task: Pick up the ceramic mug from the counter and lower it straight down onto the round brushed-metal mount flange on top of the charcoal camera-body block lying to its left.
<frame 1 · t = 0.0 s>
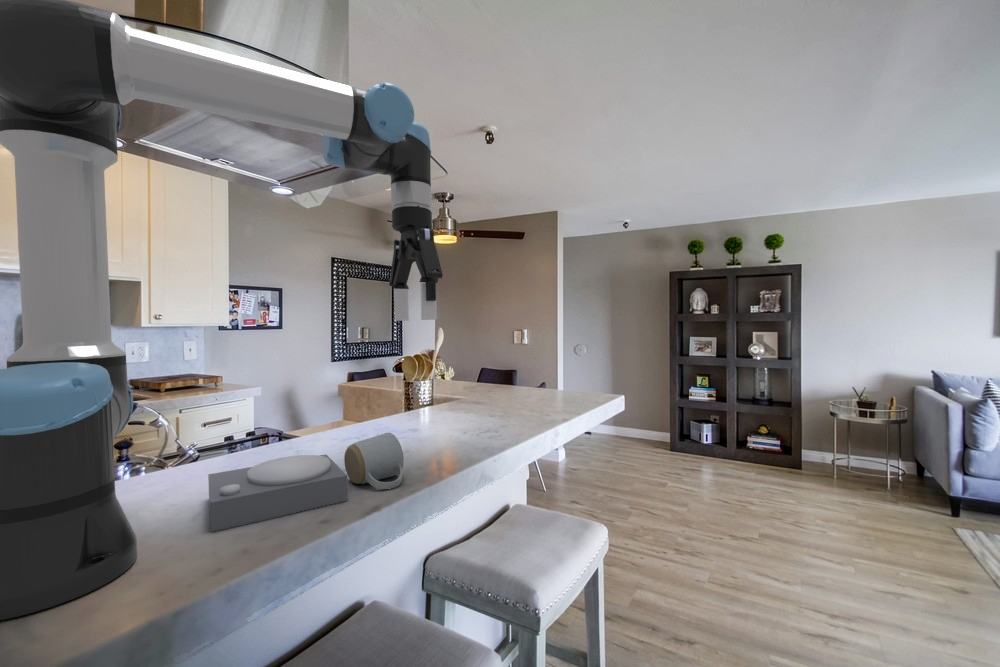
hand: (414, 320, 87), 28 cm above the worktop, tool pointing down, fingers open, 13 cm apart
camera body: (277, 500, 71), on the worktop
ceramic mug: (379, 482, 79), on the worktop
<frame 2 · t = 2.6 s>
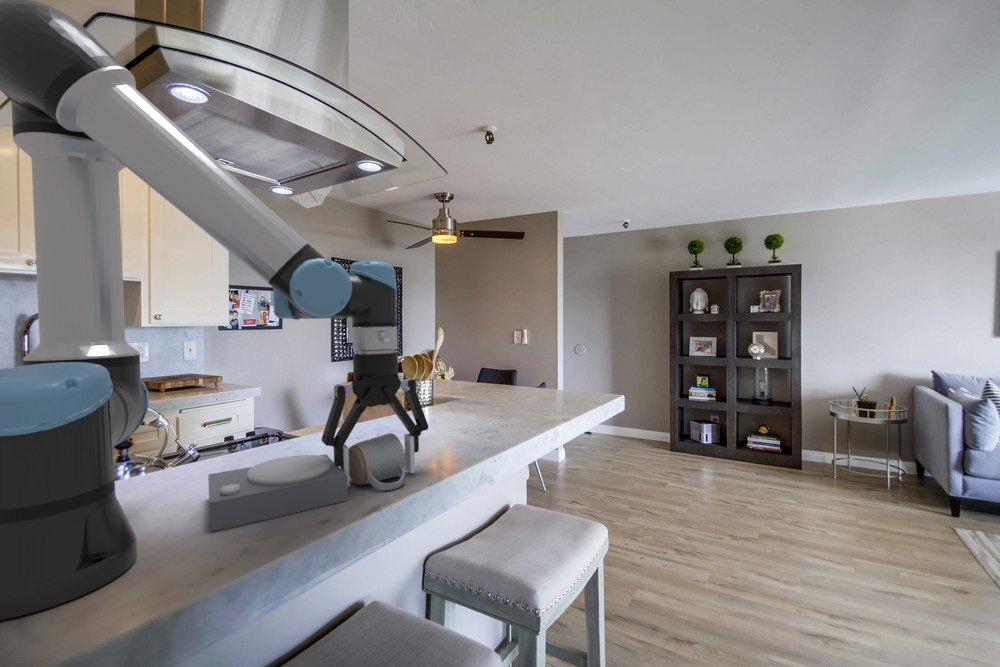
hand: (378, 477, 79), 1 cm above the worktop, tool pointing down, fingers open, 11 cm apart
nothing on the worktop moved.
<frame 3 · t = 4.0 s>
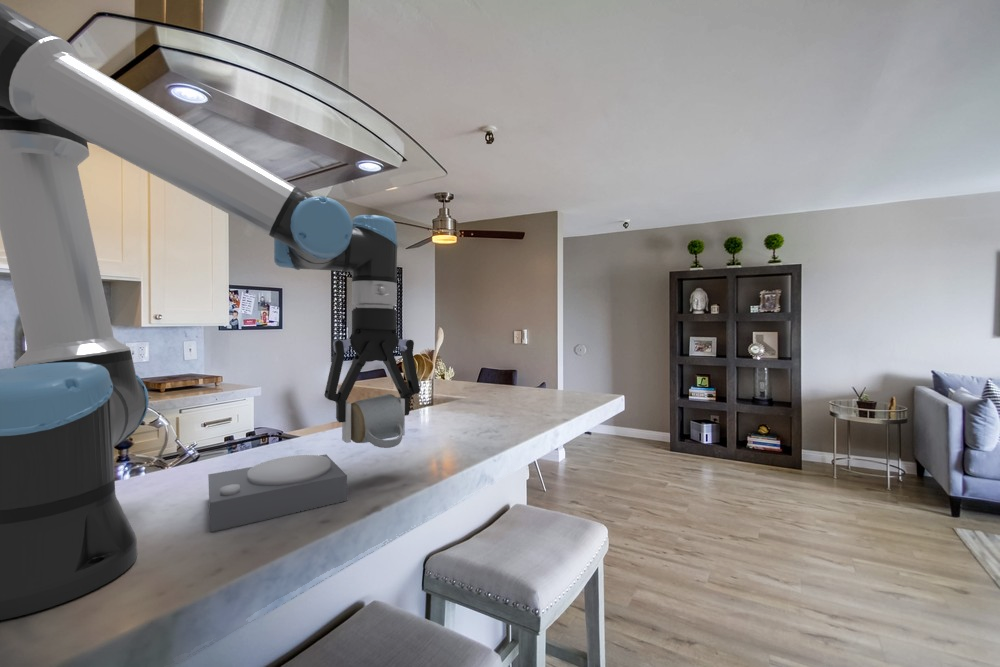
hand: (374, 437, 79), 8 cm above the worktop, tool pointing down, fingers closed on ceramic mug, 9 cm apart
ceramic mug: (379, 442, 78), point 7 cm above the worktop, touching gripper
when the fingers open (6 cm above the worktop, at t = 7.4 s): ceramic mug stays where it is, resting on camera body.
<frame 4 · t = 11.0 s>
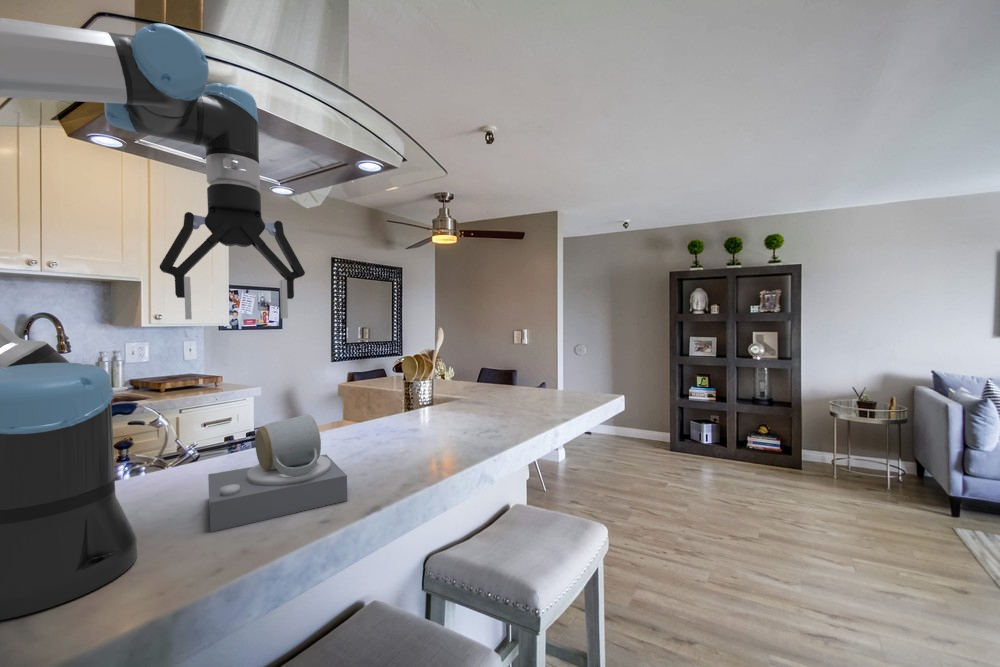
hand: (238, 319, 74), 29 cm above the worktop, tool pointing down, fingers open, 13 cm apart
ceramic mug: (293, 468, 72), point 5 cm above the worktop, touching camera body
at the end: ceramic mug inside the target area (1.0 cm from its centre), point 4.8 cm above the worktop; ceramic mug tilted 1°; the gripper is holding nothing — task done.
